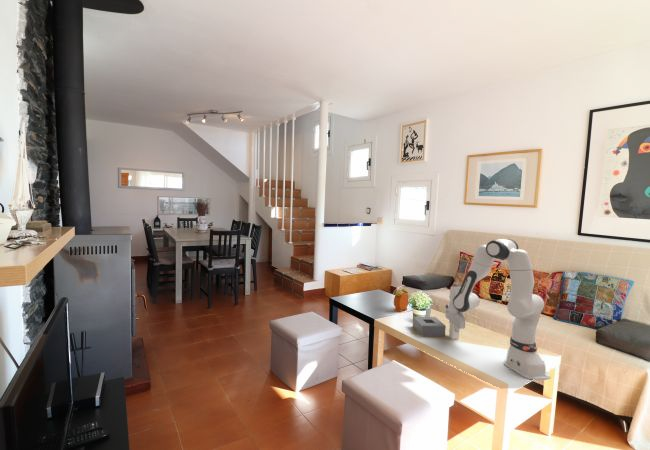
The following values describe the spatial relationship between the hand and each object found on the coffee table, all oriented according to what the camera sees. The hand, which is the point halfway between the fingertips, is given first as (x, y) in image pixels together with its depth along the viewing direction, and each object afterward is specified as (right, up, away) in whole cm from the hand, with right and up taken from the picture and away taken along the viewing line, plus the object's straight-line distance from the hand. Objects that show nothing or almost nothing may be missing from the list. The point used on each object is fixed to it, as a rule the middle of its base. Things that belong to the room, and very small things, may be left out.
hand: (454, 329), depth 212 cm
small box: (-12, -3, +28) cm, 31 cm away
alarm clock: (-23, 0, +49) cm, 55 cm away
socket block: (-14, -4, +9) cm, 17 cm away
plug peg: (0, -5, 0) cm, 5 cm away
